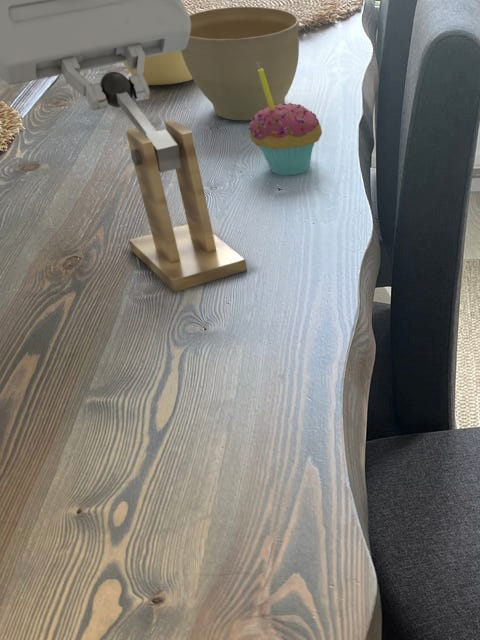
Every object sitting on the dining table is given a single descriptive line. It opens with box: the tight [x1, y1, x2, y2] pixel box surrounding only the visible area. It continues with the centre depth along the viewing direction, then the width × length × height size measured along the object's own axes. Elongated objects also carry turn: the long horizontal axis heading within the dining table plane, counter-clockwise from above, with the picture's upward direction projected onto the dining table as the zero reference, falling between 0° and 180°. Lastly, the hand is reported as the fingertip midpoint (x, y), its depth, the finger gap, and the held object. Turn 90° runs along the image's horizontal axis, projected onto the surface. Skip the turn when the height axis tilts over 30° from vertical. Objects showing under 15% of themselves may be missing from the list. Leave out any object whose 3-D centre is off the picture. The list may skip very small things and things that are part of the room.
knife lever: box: [99, 71, 181, 174], centre depth 100 cm, size 14×3×3 cm, turn 34°
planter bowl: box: [181, 6, 300, 122], centre depth 135 cm, size 16×16×11 cm
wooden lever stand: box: [125, 119, 248, 293], centre depth 101 cm, size 12×8×13 cm, turn 35°
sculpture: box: [122, 51, 193, 86], centre depth 146 cm, size 12×12×11 cm
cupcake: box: [248, 62, 323, 176], centre depth 120 cm, size 9×8×12 cm
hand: (122, 101), depth 102 cm, fingers closed on knife lever, 3 cm apart
